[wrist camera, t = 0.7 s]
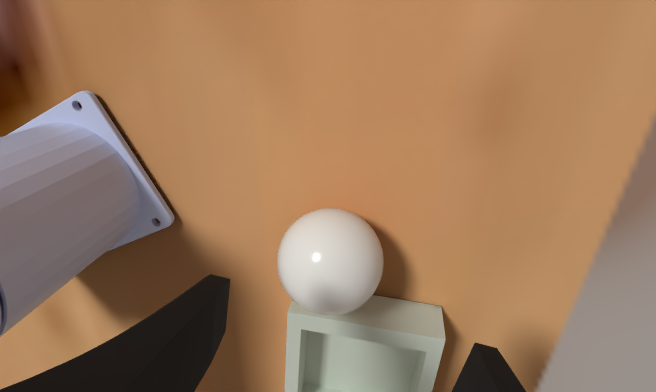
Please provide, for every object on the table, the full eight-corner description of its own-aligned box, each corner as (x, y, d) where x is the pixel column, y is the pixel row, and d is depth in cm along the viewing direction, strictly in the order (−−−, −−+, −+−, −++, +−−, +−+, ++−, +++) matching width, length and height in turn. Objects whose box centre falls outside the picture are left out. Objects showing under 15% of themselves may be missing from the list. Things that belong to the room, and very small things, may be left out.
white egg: (317, 283, 23) (296, 350, 18) (275, 209, 21) (241, 262, 17) (400, 258, 21) (399, 325, 17) (362, 177, 20) (350, 225, 15)
